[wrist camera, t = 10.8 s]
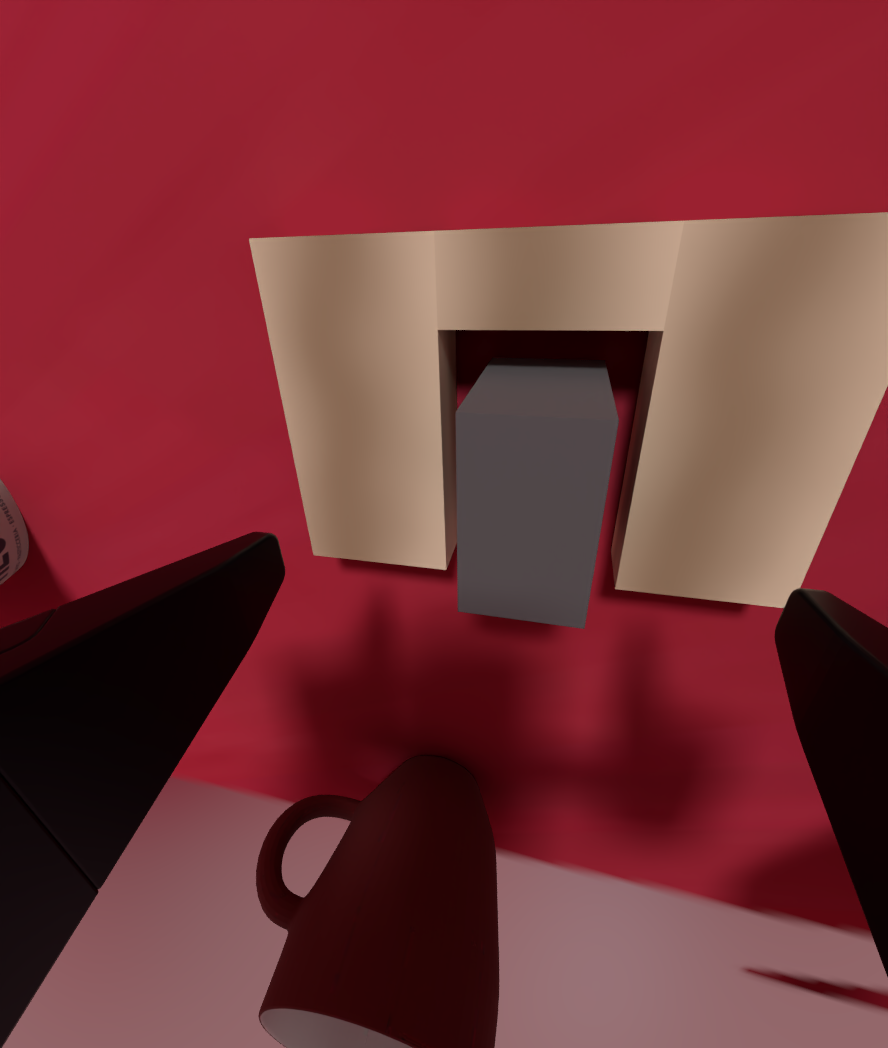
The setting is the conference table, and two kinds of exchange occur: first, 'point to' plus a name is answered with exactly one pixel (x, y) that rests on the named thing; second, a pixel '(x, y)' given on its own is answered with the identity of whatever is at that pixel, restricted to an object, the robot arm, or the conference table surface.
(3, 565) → the food container
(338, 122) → the conference table surface
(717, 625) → the conference table surface
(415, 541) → the notch board
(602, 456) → the grey block
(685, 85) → the conference table surface
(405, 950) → the mug
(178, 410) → the conference table surface
